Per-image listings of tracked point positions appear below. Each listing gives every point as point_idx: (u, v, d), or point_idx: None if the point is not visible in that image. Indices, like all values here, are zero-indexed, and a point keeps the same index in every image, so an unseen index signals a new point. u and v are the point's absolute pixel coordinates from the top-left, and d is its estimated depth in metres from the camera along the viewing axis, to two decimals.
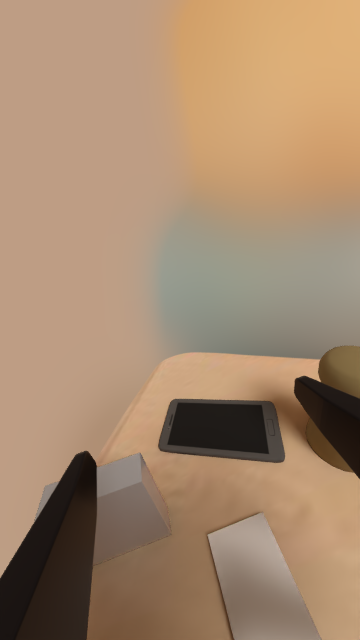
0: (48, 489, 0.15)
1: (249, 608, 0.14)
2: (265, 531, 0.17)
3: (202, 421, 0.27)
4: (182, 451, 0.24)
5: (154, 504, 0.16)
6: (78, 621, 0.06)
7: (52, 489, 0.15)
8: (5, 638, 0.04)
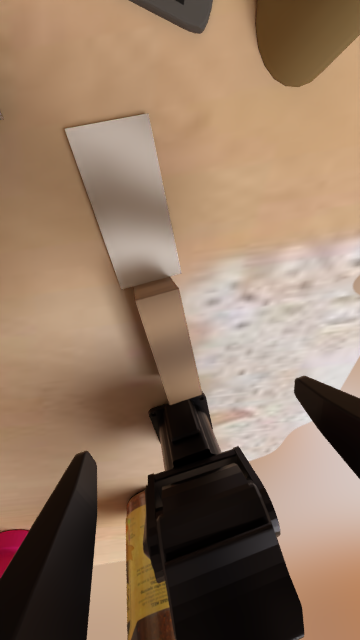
0: None
1: (114, 203, 0.14)
2: (146, 138, 0.13)
3: None
4: None
5: None
6: (78, 621, 0.06)
7: None
8: (5, 638, 0.04)
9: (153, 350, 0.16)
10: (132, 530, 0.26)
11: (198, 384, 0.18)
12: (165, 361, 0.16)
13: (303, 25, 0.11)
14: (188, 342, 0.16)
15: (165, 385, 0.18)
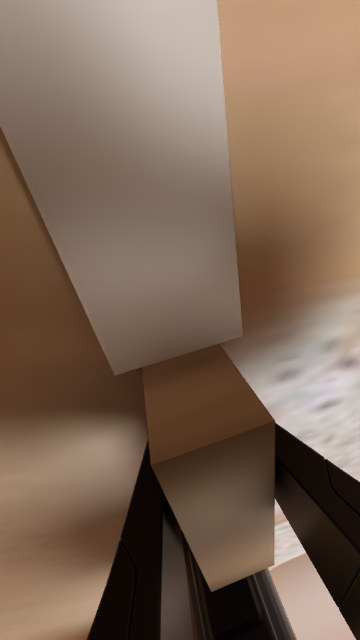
0: None
1: (92, 177, 0.05)
2: None
3: None
4: None
5: None
6: (183, 577, 0.06)
7: None
8: (152, 577, 0.04)
9: (190, 536, 0.07)
10: None
11: (271, 555, 0.09)
12: (213, 545, 0.07)
13: None
14: (269, 508, 0.07)
15: (208, 573, 0.08)
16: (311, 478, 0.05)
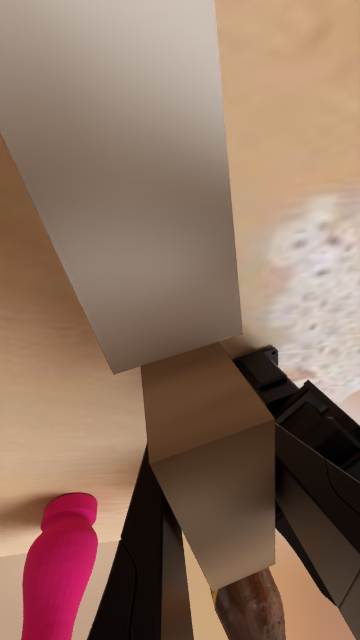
0: None
1: (89, 173, 0.05)
2: None
3: None
4: None
5: None
6: (183, 576, 0.06)
7: None
8: (152, 577, 0.04)
9: (190, 536, 0.07)
10: None
11: (272, 555, 0.09)
12: (213, 545, 0.07)
13: None
14: (270, 507, 0.07)
15: (208, 573, 0.08)
16: (311, 478, 0.05)
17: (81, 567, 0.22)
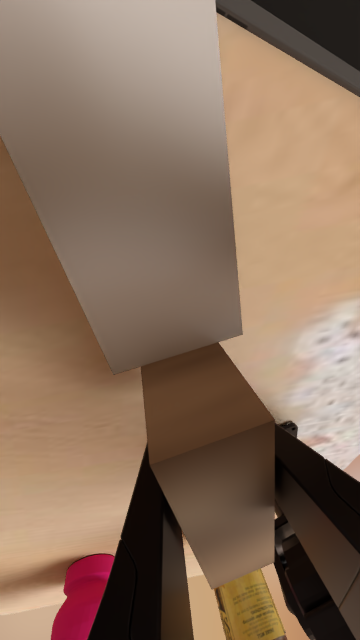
0: None
1: (88, 173, 0.05)
2: None
3: None
4: (220, 4, 0.09)
5: None
6: (183, 576, 0.06)
7: None
8: (152, 577, 0.04)
9: (190, 535, 0.07)
10: None
11: (271, 553, 0.09)
12: (213, 543, 0.07)
13: None
14: (269, 506, 0.07)
15: (208, 571, 0.08)
16: (311, 478, 0.05)
17: None
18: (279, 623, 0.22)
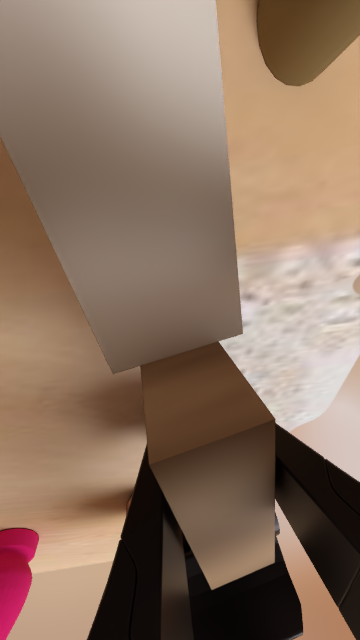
0: None
1: (87, 171, 0.05)
2: None
3: None
4: None
5: None
6: (183, 576, 0.06)
7: None
8: (152, 577, 0.04)
9: (189, 536, 0.07)
10: None
11: (271, 553, 0.09)
12: (213, 544, 0.07)
13: (304, 24, 0.11)
14: (270, 506, 0.07)
15: (208, 572, 0.08)
16: (311, 478, 0.05)
17: (6, 609, 0.22)
18: None
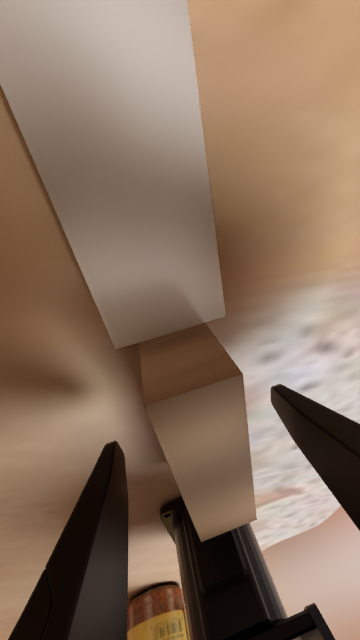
0: None
1: (96, 181, 0.06)
2: (171, 15, 0.05)
3: None
4: None
5: None
6: (120, 603, 0.06)
7: None
8: (64, 613, 0.04)
9: (179, 480, 0.08)
10: None
11: (252, 509, 0.10)
12: (199, 491, 0.09)
13: None
14: (246, 458, 0.08)
15: (197, 521, 0.10)
16: None
17: None
18: None
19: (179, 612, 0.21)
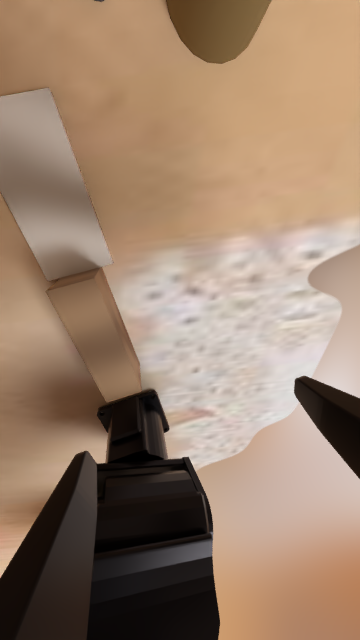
0: None
1: (25, 187, 0.13)
2: (50, 115, 0.12)
3: None
4: None
5: None
6: (78, 621, 0.06)
7: None
8: (5, 638, 0.04)
9: (77, 344, 0.15)
10: None
11: (135, 380, 0.17)
12: (92, 356, 0.16)
13: None
14: (115, 336, 0.15)
15: (98, 382, 0.17)
16: None
17: None
18: None
19: None
